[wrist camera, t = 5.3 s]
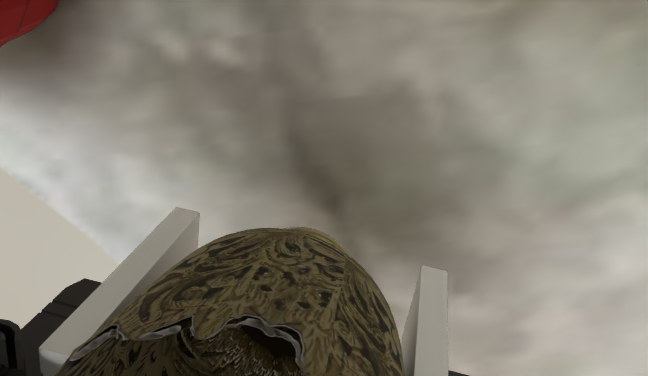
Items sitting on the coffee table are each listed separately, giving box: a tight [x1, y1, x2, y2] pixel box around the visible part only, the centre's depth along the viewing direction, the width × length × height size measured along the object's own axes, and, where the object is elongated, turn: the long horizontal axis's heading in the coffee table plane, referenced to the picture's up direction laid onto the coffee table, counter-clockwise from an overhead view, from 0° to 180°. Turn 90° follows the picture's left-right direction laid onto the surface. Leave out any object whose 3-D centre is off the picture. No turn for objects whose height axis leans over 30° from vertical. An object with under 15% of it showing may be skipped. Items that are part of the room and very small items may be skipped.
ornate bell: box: [54, 227, 405, 376], centre depth 14 cm, size 8×7×8 cm
